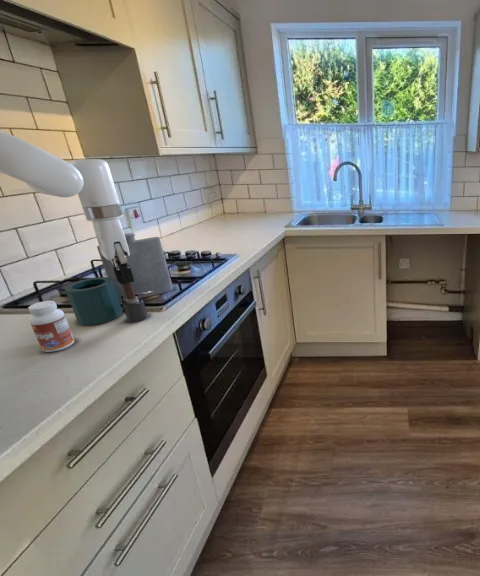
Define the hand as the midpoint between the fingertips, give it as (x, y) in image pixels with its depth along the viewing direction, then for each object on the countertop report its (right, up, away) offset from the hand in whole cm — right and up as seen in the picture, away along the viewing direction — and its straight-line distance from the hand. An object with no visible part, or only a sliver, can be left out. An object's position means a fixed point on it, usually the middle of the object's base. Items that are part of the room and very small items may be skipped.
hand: (125, 281), depth 96 cm
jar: (-11, -10, +6) cm, 16 cm away
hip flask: (-8, -4, +19) cm, 21 cm away
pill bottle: (-10, -16, -9) cm, 21 cm away
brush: (0, -10, +4) cm, 11 cm away
